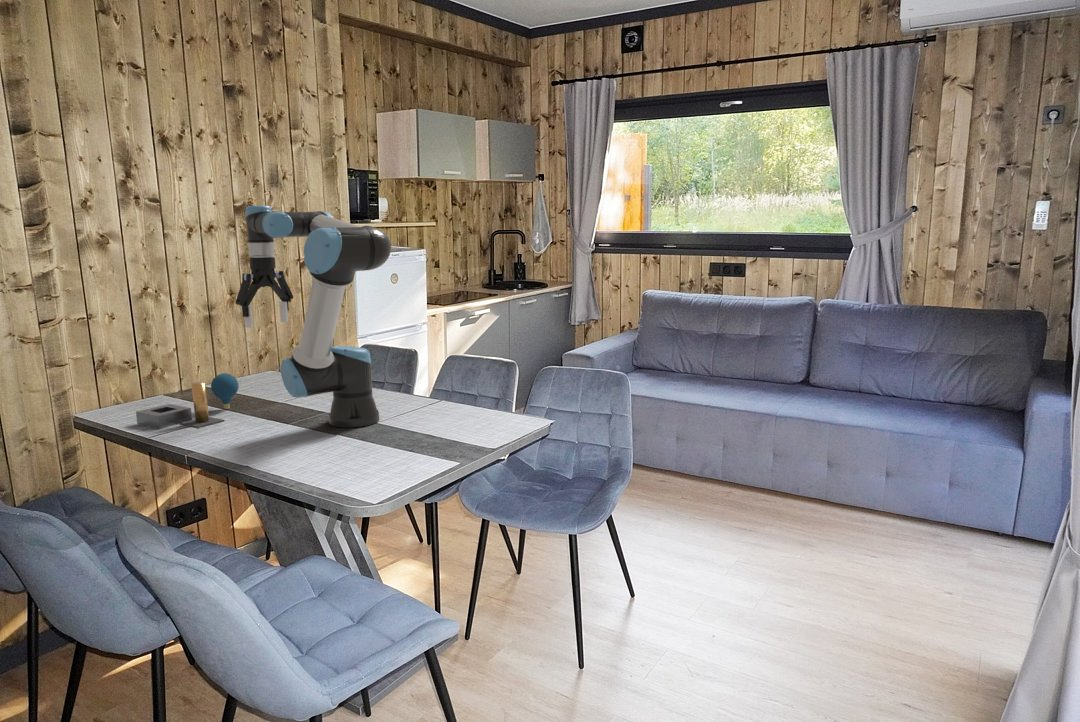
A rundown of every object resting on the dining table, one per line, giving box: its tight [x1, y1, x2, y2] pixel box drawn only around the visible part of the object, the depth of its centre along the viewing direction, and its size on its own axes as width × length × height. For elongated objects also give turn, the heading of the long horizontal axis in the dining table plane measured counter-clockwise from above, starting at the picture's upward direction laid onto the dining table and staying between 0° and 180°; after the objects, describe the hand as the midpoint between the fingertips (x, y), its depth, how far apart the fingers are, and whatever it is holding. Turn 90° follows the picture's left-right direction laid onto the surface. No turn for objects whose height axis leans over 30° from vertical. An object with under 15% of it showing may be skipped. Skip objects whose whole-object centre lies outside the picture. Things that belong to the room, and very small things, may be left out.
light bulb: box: [210, 372, 240, 410], centre depth 248 cm, size 8×8×12 cm
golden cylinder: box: [191, 381, 210, 423], centre depth 232 cm, size 4×4×12 cm
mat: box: [179, 416, 225, 429], centre depth 233 cm, size 9×9×1 cm
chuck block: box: [135, 403, 193, 430], centre depth 233 cm, size 11×11×4 cm
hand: (267, 324), depth 238 cm, fingers open, 13 cm apart
